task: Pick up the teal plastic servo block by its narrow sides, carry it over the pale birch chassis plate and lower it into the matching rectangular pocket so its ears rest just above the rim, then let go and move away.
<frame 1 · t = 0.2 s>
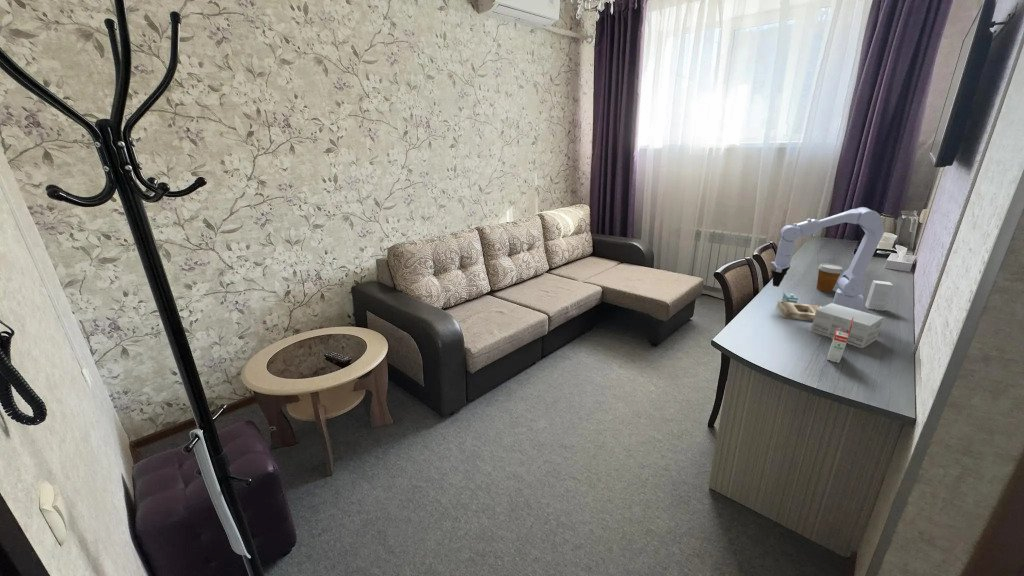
hand: (777, 283, 180), 10 cm above the table, tool pointing down, fingers open, 7 cm apart
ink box: (833, 357, 141), on the table
chassis plate: (801, 314, 174), on the table
orange jar with lid: (824, 290, 201), on the table
servo block: (788, 303, 185), on the table
skincare box: (874, 308, 180), on the table
supplement box: (842, 335, 157), on the table
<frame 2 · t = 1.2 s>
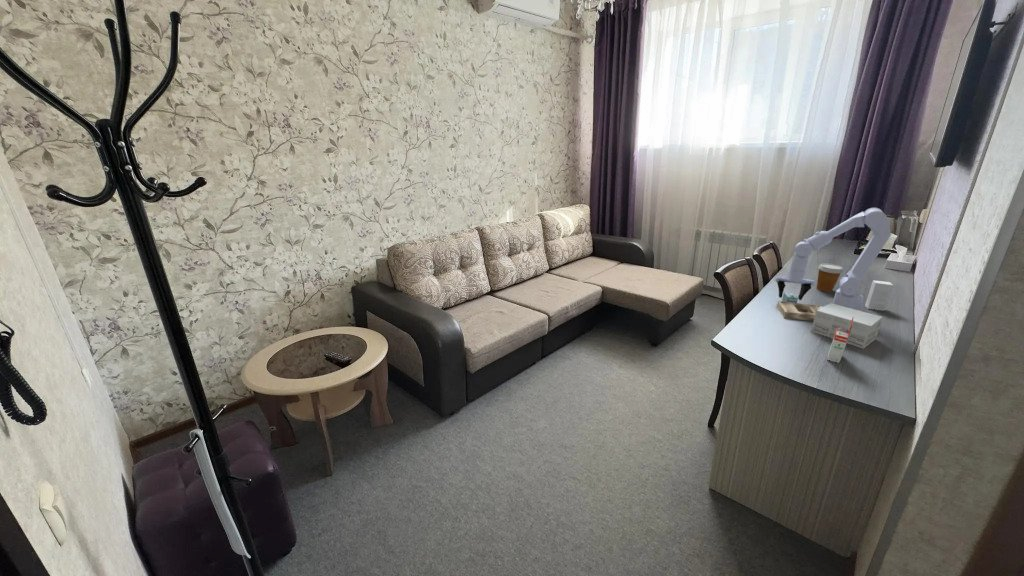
hand: (789, 298, 184), 2 cm above the table, tool pointing down, fingers open, 7 cm apart
nothing on the table moved.
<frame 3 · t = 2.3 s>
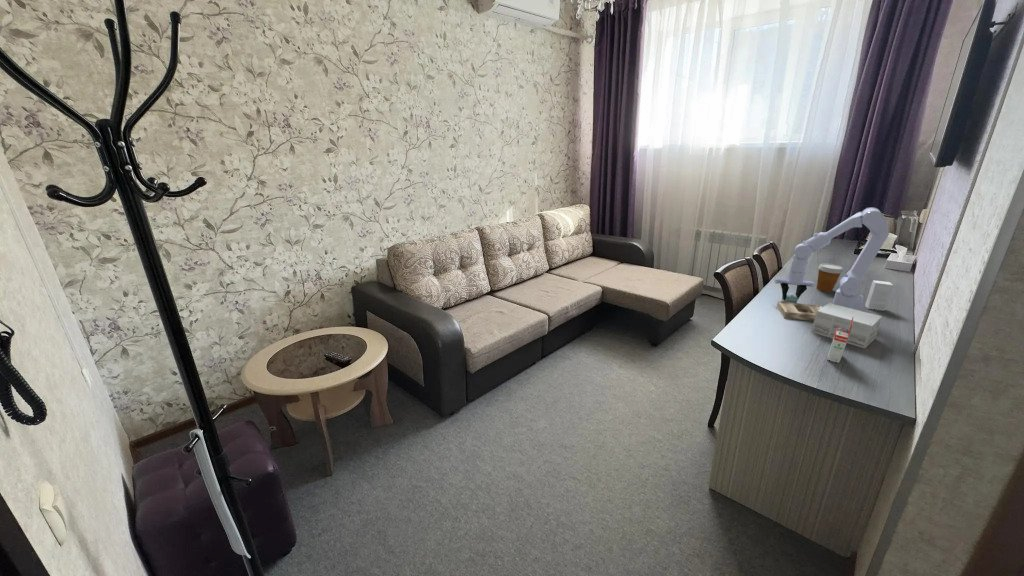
hand: (789, 299, 184), 2 cm above the table, tool pointing down, fingers closed on servo block, 4 cm apart
servo block: (788, 303, 185), on the table, touching gripper
everything else where it was.
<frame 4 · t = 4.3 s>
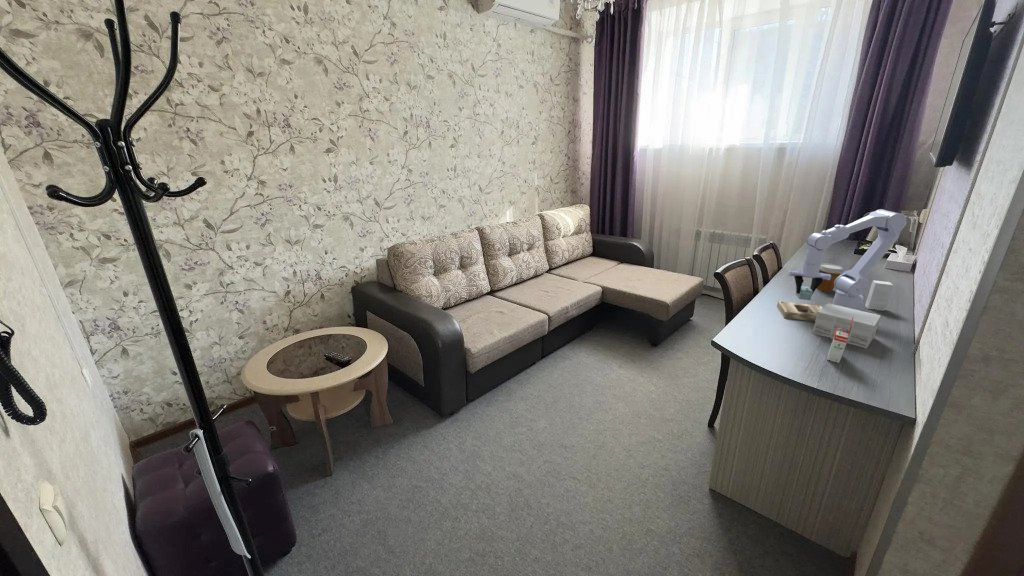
hand: (804, 293, 173), 8 cm above the table, tool pointing down, fingers closed on servo block, 4 cm apart
servo block: (802, 297, 174), point 7 cm above the table, touching gripper
everything else where it was.
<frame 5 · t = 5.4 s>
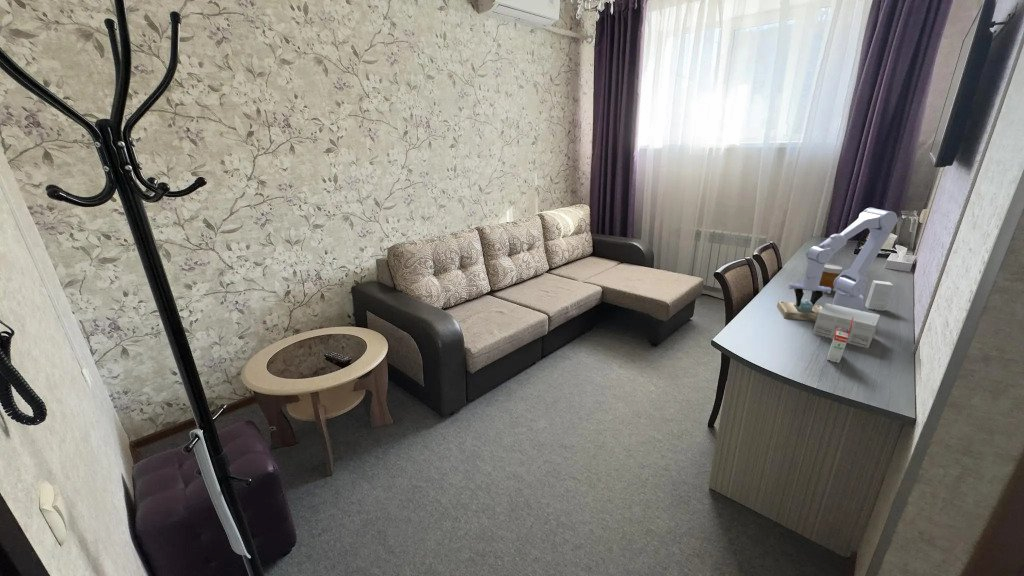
hand: (804, 306, 172), 4 cm above the table, tool pointing down, fingers closed on servo block, 4 cm apart
servo block: (802, 310, 173), point 2 cm above the table, touching gripper
when the fingers open (3 cm above the table, at t = 6.3 s): servo block drops 1 cm, resting on chassis plate.
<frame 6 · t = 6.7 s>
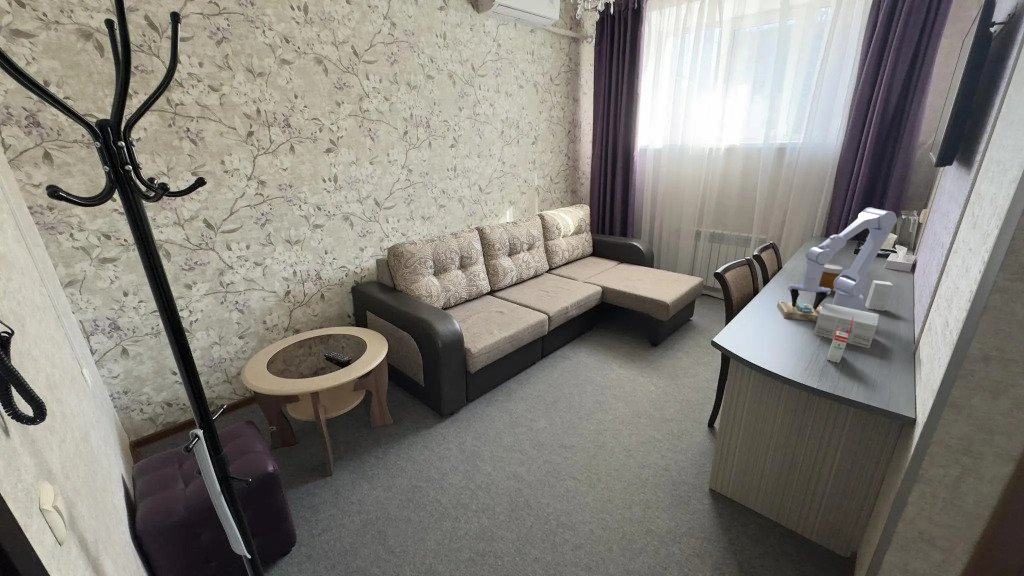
hand: (803, 307, 173), 3 cm above the table, tool pointing down, fingers open, 7 cm apart
servo block: (801, 313, 174), resting on chassis plate
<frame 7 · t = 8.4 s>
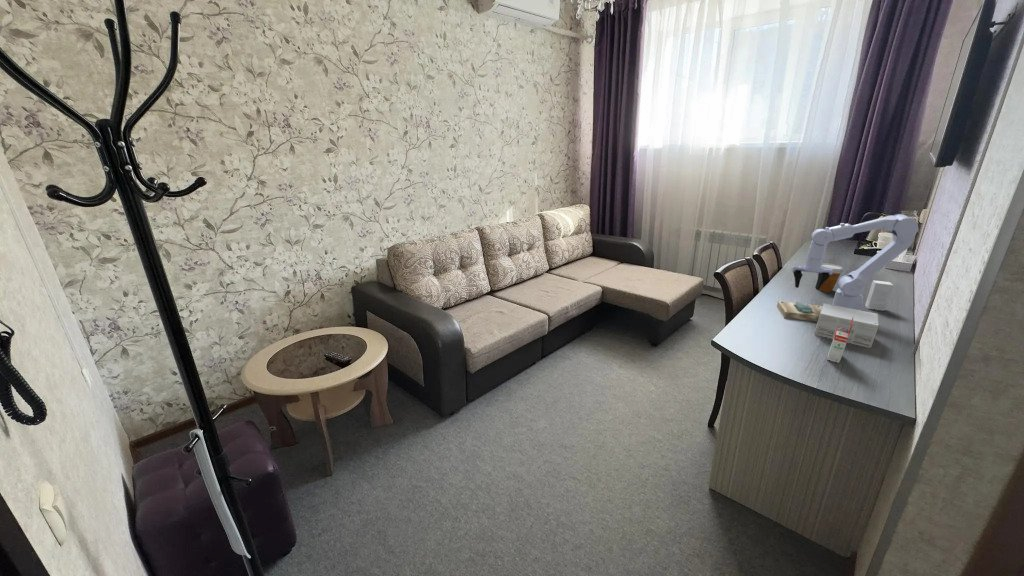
hand: (806, 288, 178), 9 cm above the table, tool pointing down, fingers open, 7 cm apart
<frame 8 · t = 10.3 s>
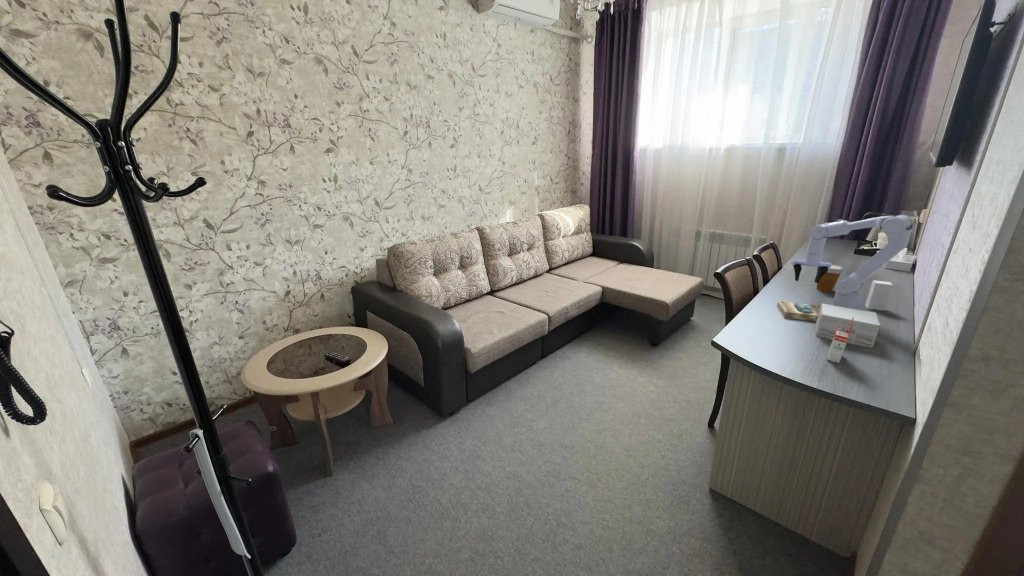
hand: (806, 281, 184), 9 cm above the table, tool pointing down, fingers open, 7 cm apart
at the end: servo block 0.3 cm off-centre on the chassis plate, point 0.1 cm above the chassis plate's base; servo block tilted 0°; the gripper is holding nothing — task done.
